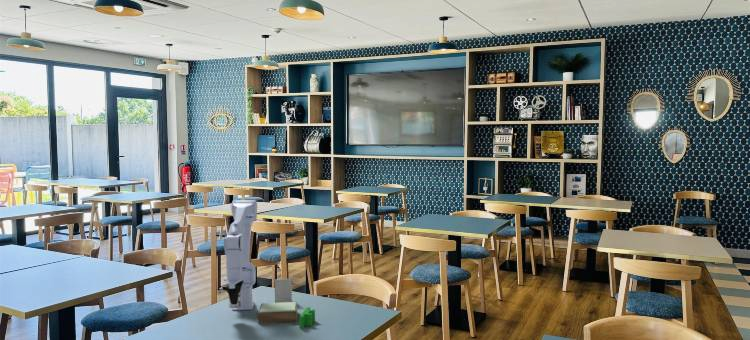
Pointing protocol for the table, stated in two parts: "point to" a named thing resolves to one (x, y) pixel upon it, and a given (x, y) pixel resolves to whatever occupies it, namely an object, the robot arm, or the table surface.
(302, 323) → the pipe clamp
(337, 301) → the table surface
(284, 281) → the grey rectangular block
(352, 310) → the table surface
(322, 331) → the table surface
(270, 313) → the walnut stand
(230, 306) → the grey metal cylinder
